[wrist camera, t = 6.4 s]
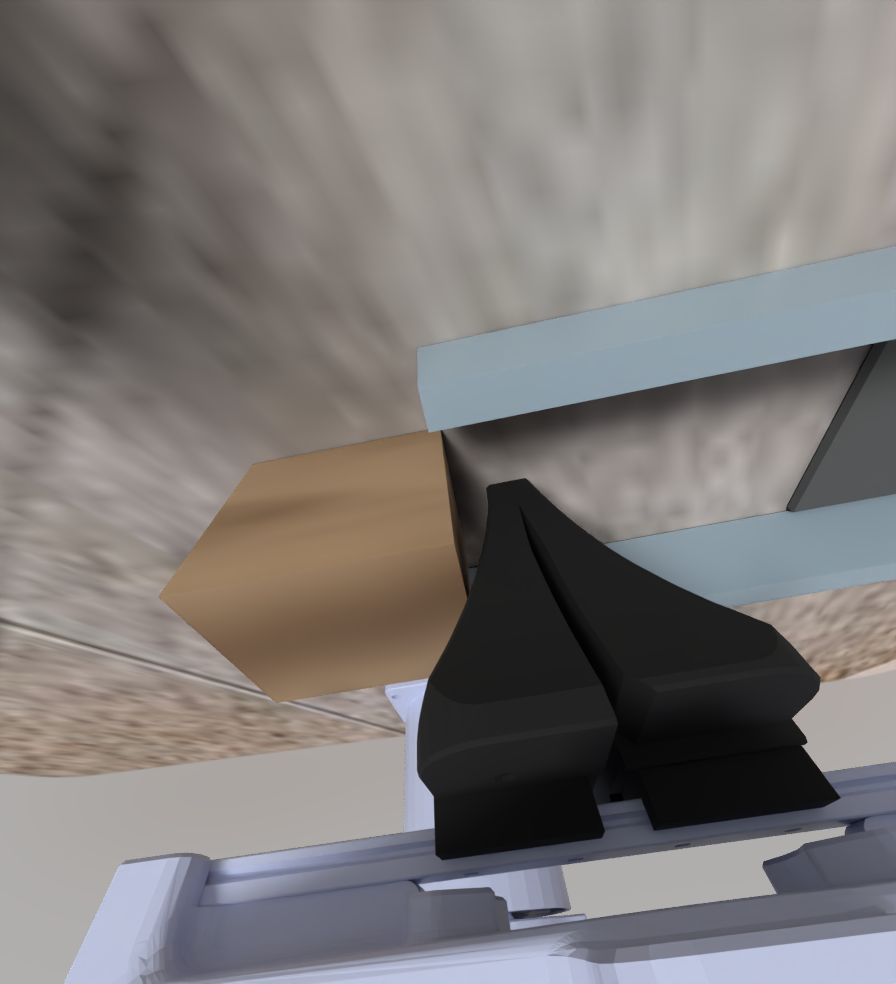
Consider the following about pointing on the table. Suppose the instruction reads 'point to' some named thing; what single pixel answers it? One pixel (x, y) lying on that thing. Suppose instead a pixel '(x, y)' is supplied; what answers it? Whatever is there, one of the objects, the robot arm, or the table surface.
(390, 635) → the block
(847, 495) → the dark grey slab
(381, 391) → the table surface
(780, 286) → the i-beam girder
